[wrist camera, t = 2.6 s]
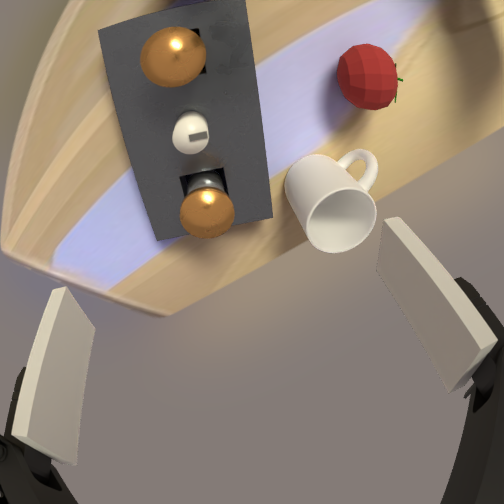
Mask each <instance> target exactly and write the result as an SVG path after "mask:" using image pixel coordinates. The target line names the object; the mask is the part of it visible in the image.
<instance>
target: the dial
mask: <svg viewBox="0 0 504 504" xmlns="http://www.w3.org/2000/svg"><path fill="white" fill-rule="evenodd" d="M172 140H173V144H174V146H175V147H176V149H177V150H179V151H180V152H182V153H184V154H196V153H198V152H200V151H202V150H203V149H204V148H205V147H206V145H207V143H208V140H209V134H208V124H207V120H206V119H205V117H204V116H203V115H202V114H200V113H198V112H195V111H189V112H186V113H184V114H182V115H181V116H180V117H179V118H178V119H177V121H176V125H175V128H174V131H173V136H172Z"/></svg>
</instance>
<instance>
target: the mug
mask: <svg viewBox="0 0 504 504" xmlns="http://www.w3.org/2000/svg"><path fill="white" fill-rule="evenodd" d="M357 160H364V161H365V162H366V170H365V173H364V174H363V176H362V177H361V178H360V180H358V181H356V180H355V179H354V178H353V177H352V176H351V175H350V174H349V173H348V172H347V171H346V169H347V167H348V166H349V165H350V164H352V163H353V162H355V161H357ZM377 174H378V162H377V160H376V158H375V156H374V155H373V154H372V153H371V152H369V151H368V150H365V149H356V150H352V151H350V152H348V153H347V154H345V155H344V156H343V157H342V158H340V159H339V160H338V161H337V162H336V161H335V160H333V159H332V158H330V157H328V156H325V155H320V154H314V155H309V156H306V157H303V158H301V159H300V160H298V161H297V162H296V163H295V164H293V166H292V167H291V168H290V169H289V171H288V173H287V175H286V178H285V183H284V188H285V194H286V197H287V199H288V201H289V203H290V205H291V207H292V209H293V211H294V213H295V214H296V216H297V218H298V220H299V222H300V224H301V226H302V228H303V230H304V232H305V234H306V236H307V238H308V240H309V241H310V243H311V244H312V245H313V246H314V247H315V248H317V249H318V250H320V251H323V252H326V253H341V252H345V251H348V250H350V249H352V248H354V247H356V246H357V245H359V244H360V243H361V242H363V241H364V240H365V239H366V238H367V236H368V235H369V234H370V232H371V231H372V229H373V227H374V224H375V221H376V214H377V213H376V205H375V202H374V200H373V198H372V197H371V196H370V195H369V194H368V193H367V192H368V191H369V190H370V188H371V187H372V185H373V184H374V182H375V180H376V177H377Z"/></svg>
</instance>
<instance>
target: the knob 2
mask: <svg viewBox="0 0 504 504" xmlns="http://www.w3.org/2000/svg"><path fill="white" fill-rule="evenodd" d="M234 216H235V212H234V207H233V203H232V200H231V198H230V197H229V196H228V194H226V193H225V192H224V187H223V181H222V178H221V176H220V175H219V174H218V173H217V172H216V171H214V170H207V171H203V172H198V173H193V174H192V175H191V176H190V178H189V180H188V187H187V195H186V196H185V198H184V199H183V201H182V203H181V207H180V221H181V224H182V226H183V227H184V229H185V230H186V231H187V232H188V233H190V234H191V235H193V236H195V237H199V238H214V237H217V236H220V235H222V234H223V233H225V232H226V231H227V230H228V229H229V228H230V227H231V225H232V223H233V221H234Z"/></svg>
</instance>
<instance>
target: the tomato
mask: <svg viewBox="0 0 504 504" xmlns="http://www.w3.org/2000/svg"><path fill="white" fill-rule="evenodd" d="M337 79H338V83H339V86H340V88H341V91H342V93H343V95H344V97H345V98H346V99H347V100H348V101H350V102H351V103H352V104H354V105H355V106H356V107H358V108H364V109H369V110H378V109H381V108H384V107H388V105H389V104H390V103H391V101H392V100H393V99H394V97H395V103H396V96H397V87H398V81H397V80H399V81H402V82H403V79H400V78H397V72H396V63H395V64H394V62H393V60H392V58H391V57H390V56H389V55H388V54H387V53H386V51H384V50H383V49H382V48H380V47H377V46H374V45H371V44H362V45H356V46H353V47H351V48H350V49H349V50H347V51H346V52H345V53H344V54H343V55H342V56H341V57H340V59H339V64H338V68H337Z"/></svg>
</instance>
